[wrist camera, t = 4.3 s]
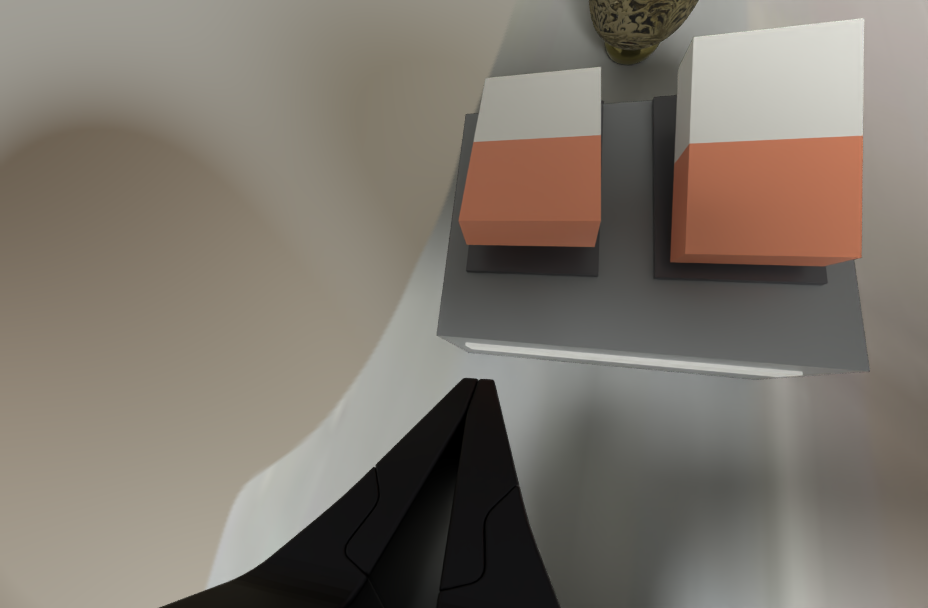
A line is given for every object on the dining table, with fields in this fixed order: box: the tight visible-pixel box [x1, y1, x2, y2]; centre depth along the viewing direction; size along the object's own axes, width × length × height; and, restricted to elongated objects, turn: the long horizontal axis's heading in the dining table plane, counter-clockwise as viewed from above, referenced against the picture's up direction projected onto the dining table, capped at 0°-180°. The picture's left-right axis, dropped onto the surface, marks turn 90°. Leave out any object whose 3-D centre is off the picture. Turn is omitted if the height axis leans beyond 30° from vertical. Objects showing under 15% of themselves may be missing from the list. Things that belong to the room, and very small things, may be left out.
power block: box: [437, 95, 870, 380], centre depth 19 cm, size 12×16×7 cm
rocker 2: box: [670, 18, 864, 266], centre depth 13 cm, size 8×5×2 cm, turn 174°
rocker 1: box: [459, 67, 601, 247], centre depth 15 cm, size 8×5×2 cm, turn 173°
